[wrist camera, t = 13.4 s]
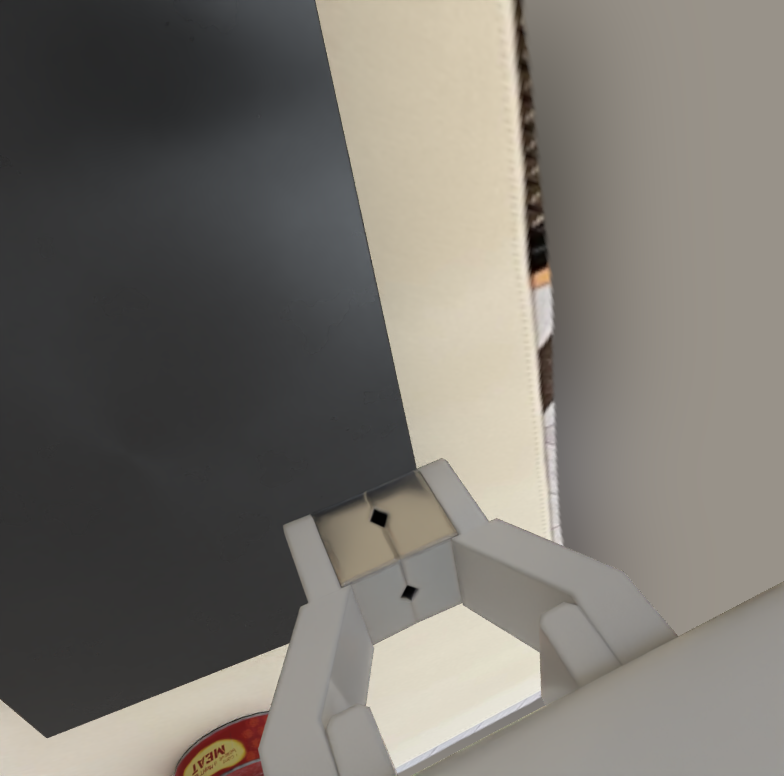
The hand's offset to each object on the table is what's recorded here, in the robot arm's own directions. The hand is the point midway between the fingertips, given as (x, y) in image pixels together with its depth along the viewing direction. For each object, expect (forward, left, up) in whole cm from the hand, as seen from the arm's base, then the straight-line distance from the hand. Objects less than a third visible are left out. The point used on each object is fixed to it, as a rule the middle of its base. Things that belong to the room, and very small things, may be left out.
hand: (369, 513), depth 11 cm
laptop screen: (-1, -9, -14) cm, 16 cm away
